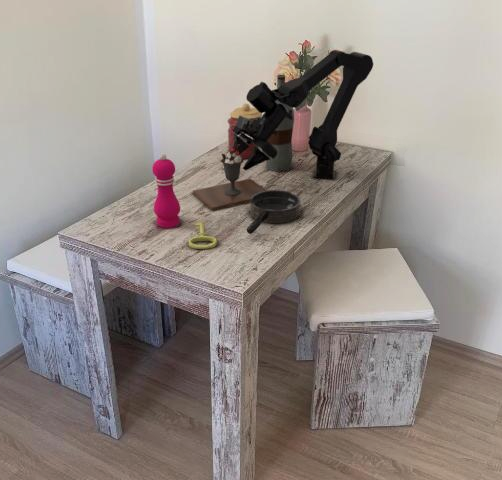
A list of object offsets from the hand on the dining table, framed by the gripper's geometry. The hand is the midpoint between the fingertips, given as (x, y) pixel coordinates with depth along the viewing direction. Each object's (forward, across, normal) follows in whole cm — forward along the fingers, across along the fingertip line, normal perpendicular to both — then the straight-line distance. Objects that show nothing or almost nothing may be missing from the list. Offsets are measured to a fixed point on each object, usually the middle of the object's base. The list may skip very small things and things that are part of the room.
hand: (237, 164), depth 172 cm
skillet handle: (+10, +25, 0) cm, 27 cm away
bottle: (-9, -14, +23) cm, 28 cm away
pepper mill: (+25, +8, -12) cm, 29 cm away
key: (+22, +22, -9) cm, 32 cm away
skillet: (+4, +17, +9) cm, 20 cm away
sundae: (+7, 0, +5) cm, 9 cm away
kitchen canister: (-7, -31, +21) cm, 38 cm away
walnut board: (+8, 0, +5) cm, 10 cm away
